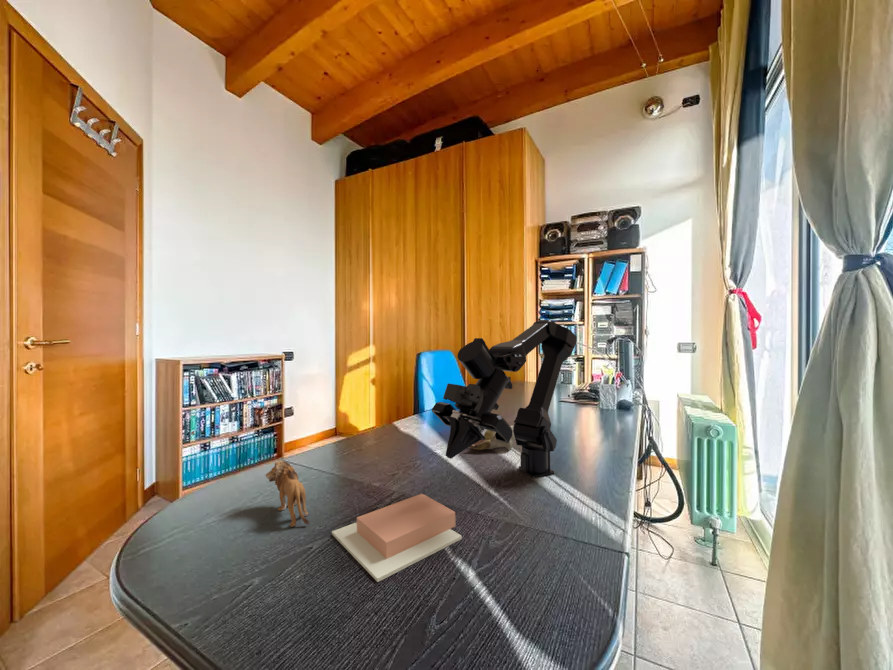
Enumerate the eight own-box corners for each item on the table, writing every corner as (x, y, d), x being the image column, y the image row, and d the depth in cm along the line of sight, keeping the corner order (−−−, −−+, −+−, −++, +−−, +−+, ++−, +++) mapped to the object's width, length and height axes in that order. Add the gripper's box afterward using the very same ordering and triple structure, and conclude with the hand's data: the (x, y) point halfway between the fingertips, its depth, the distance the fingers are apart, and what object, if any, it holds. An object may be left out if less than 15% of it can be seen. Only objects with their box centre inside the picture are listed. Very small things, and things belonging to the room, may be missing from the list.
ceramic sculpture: (517, 423, 102) (465, 426, 104) (520, 454, 102) (467, 456, 104) (514, 415, 113) (467, 418, 114) (516, 443, 113) (469, 445, 114)
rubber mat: (408, 505, 73) (408, 502, 73) (461, 538, 60) (461, 535, 60) (331, 534, 62) (331, 531, 62) (377, 582, 50) (377, 578, 50)
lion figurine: (263, 506, 73) (263, 462, 73) (289, 497, 77) (289, 455, 77) (295, 532, 63) (294, 481, 63) (323, 520, 67) (323, 472, 67)
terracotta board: (421, 493, 71) (356, 517, 62) (455, 512, 63) (386, 542, 54) (422, 506, 71) (356, 531, 62) (455, 526, 63) (386, 558, 54)
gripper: (437, 365, 79) (396, 424, 72) (501, 371, 65) (457, 445, 58) (463, 396, 85) (428, 453, 78) (528, 407, 70) (491, 479, 63)
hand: (448, 457), depth 69 cm, fingers closed
